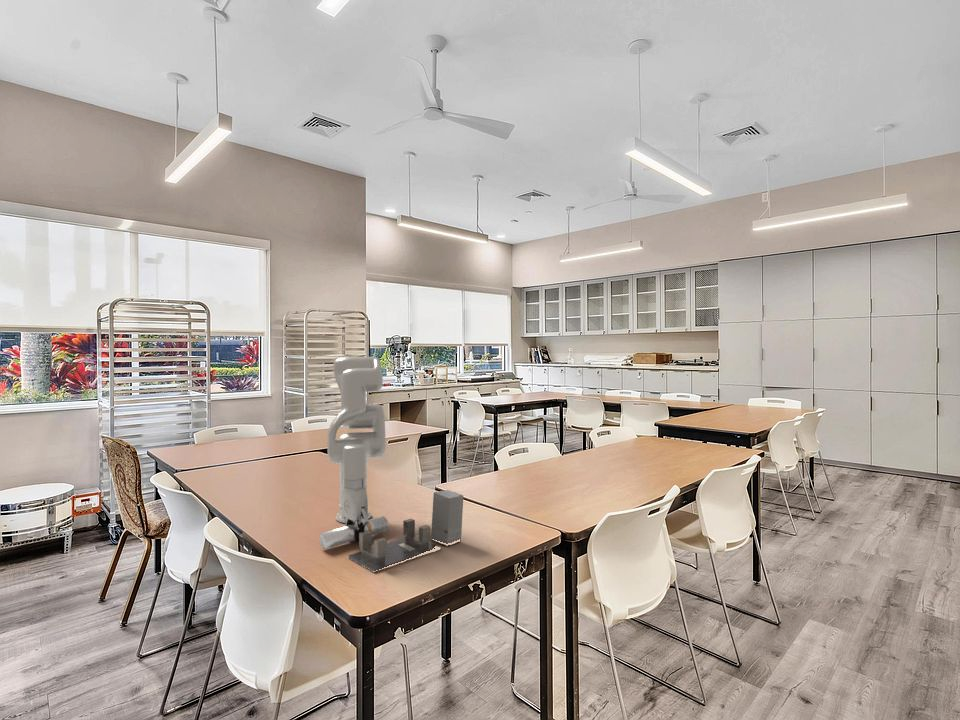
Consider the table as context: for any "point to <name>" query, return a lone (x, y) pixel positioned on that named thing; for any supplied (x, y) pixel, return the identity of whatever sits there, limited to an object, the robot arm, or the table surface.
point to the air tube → (351, 532)
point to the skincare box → (447, 516)
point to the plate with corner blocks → (393, 547)
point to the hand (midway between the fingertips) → (355, 537)
